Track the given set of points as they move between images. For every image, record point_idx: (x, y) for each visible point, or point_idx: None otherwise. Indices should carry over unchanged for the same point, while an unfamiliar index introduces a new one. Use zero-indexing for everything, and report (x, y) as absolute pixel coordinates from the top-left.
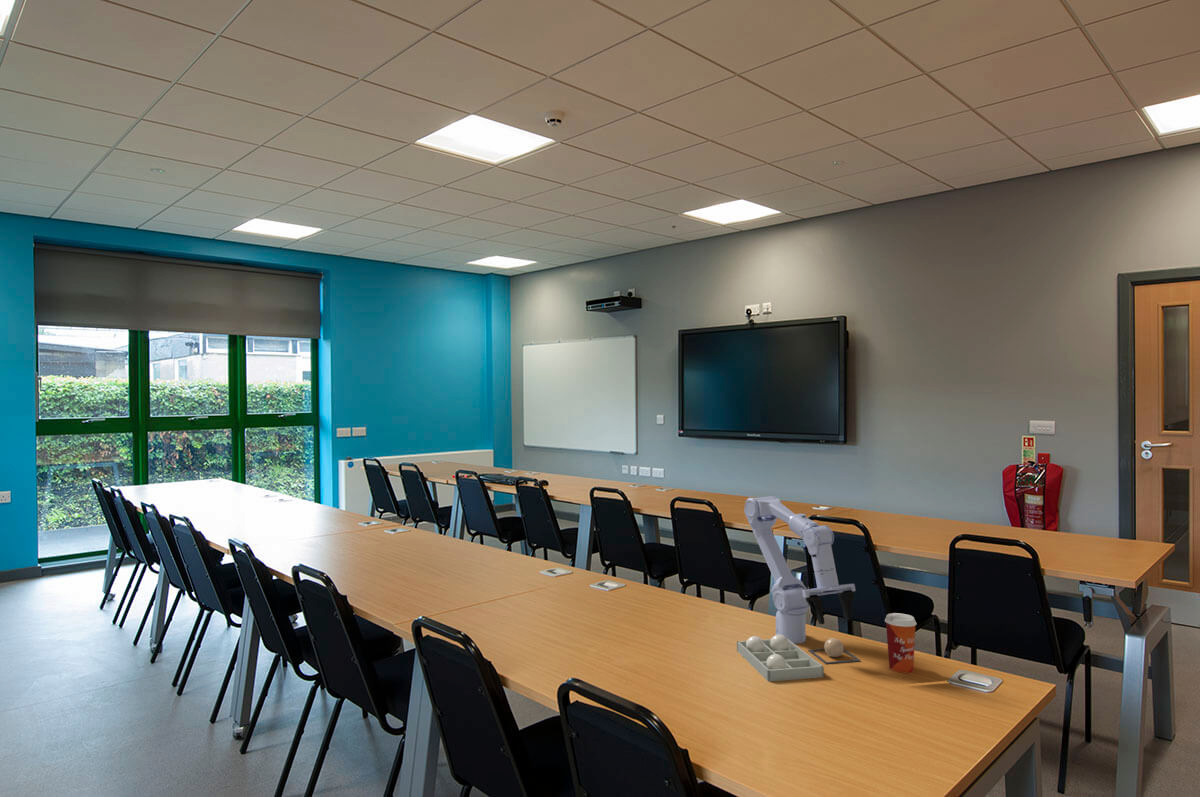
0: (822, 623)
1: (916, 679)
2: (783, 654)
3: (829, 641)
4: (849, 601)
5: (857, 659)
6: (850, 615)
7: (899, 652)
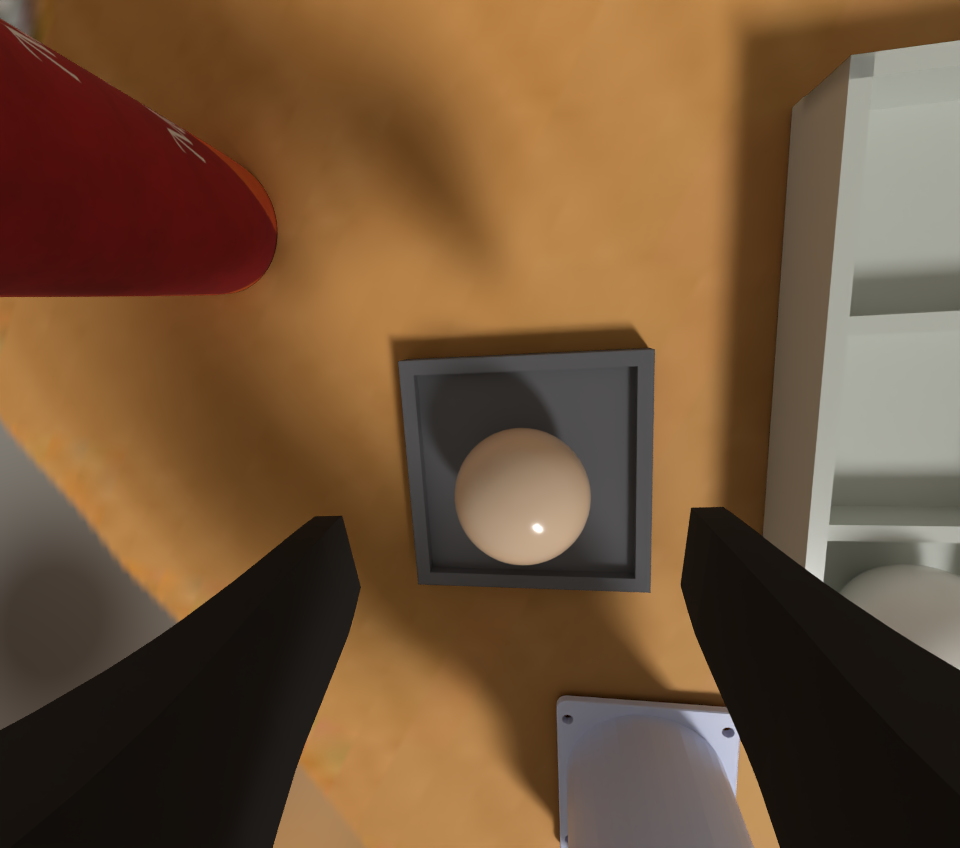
0: (725, 509)
1: (186, 78)
2: (920, 517)
3: (562, 502)
4: (101, 715)
5: (412, 377)
6: (281, 544)
7: (131, 99)
